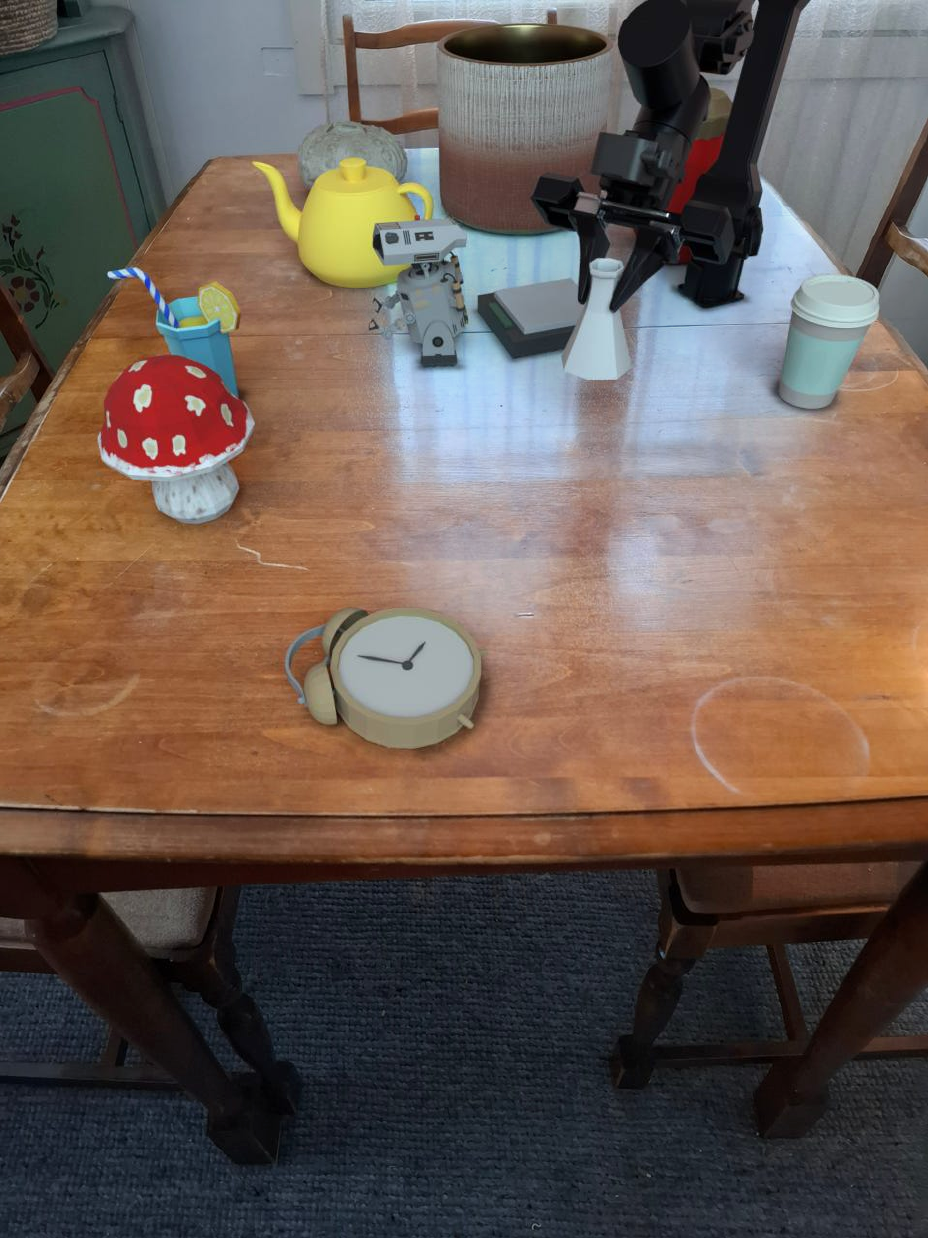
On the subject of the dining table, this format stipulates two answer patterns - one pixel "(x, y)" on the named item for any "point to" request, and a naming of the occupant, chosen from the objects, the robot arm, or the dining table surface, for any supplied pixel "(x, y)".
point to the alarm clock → (393, 675)
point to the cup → (197, 325)
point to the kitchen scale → (532, 316)
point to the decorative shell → (349, 150)
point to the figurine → (425, 284)
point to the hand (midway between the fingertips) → (595, 306)
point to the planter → (518, 118)
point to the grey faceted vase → (599, 329)
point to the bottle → (701, 157)
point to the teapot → (346, 221)
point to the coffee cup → (825, 336)
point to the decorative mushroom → (176, 435)
